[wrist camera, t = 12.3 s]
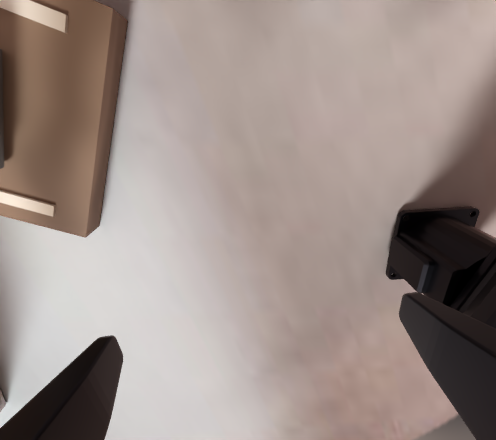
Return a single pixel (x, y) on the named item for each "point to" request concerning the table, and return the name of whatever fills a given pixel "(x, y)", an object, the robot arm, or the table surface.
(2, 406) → the coffee box
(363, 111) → the table surface
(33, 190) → the dock
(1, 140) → the grey-topped tan box
